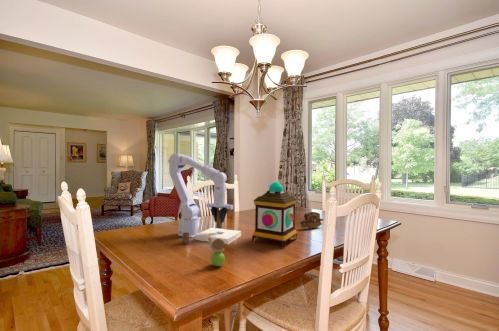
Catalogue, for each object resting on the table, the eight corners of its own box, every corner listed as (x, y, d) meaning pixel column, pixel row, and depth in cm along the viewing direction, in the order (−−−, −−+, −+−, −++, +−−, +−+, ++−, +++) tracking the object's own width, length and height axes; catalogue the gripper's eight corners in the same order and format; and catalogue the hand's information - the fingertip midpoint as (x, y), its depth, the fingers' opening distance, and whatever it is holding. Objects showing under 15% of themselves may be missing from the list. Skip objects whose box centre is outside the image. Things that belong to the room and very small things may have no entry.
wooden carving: (304, 231, 152) (304, 213, 152) (299, 229, 156) (299, 212, 156) (324, 227, 160) (325, 211, 160) (319, 226, 164) (319, 210, 164)
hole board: (195, 239, 131) (195, 234, 131) (211, 232, 146) (211, 227, 146) (228, 244, 125) (228, 239, 125) (241, 235, 140) (241, 231, 140)
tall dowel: (215, 228, 135) (215, 210, 135) (218, 226, 138) (218, 209, 137) (220, 228, 134) (220, 211, 134) (223, 227, 136) (223, 210, 136)
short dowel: (181, 244, 124) (181, 233, 124) (184, 242, 127) (185, 232, 127) (186, 244, 123) (186, 234, 123) (190, 243, 126) (190, 232, 126)
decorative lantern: (266, 233, 146) (267, 179, 145) (300, 239, 136) (301, 181, 136) (248, 242, 129) (249, 181, 128) (285, 249, 119) (287, 183, 118)
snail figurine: (208, 263, 102) (208, 232, 101) (224, 263, 102) (225, 232, 102) (207, 268, 96) (207, 236, 96) (224, 268, 97) (225, 236, 97)
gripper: (203, 195, 134) (203, 222, 134) (229, 197, 129) (228, 225, 129) (210, 194, 141) (209, 219, 141) (234, 196, 136) (234, 222, 136)
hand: (219, 222), depth 136 cm, fingers closed on tall dowel, 3 cm apart
